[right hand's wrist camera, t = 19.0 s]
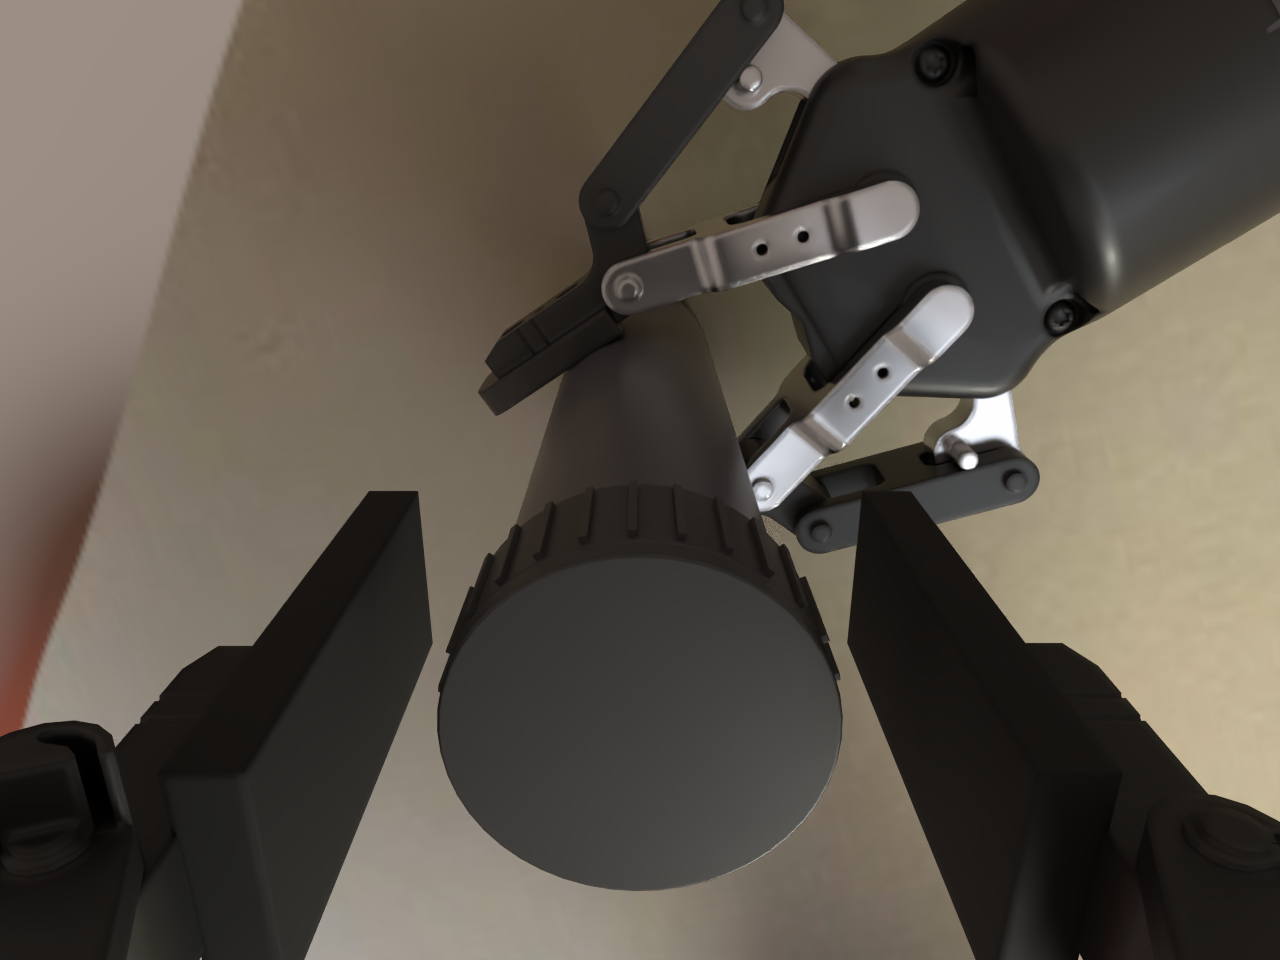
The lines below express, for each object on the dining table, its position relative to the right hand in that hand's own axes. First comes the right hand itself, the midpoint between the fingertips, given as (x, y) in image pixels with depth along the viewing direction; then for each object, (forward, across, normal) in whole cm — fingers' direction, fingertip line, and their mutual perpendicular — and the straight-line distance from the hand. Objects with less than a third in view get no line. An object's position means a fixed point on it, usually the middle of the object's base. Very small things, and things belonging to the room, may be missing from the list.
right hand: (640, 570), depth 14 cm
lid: (-4, 0, 0) cm, 4 cm away
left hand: (+9, -2, -2) cm, 9 cm away
